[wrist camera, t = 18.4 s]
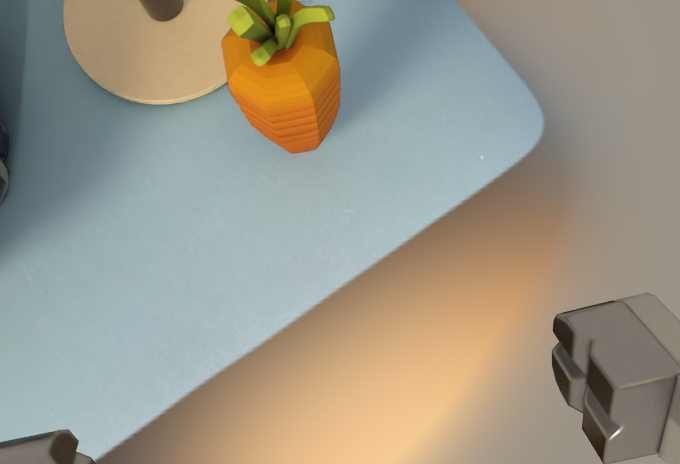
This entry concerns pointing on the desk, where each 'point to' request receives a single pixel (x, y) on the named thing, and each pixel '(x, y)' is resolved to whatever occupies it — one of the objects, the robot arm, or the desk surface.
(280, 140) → the carrot
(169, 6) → the pot lid
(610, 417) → the robot arm
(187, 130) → the desk surface
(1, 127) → the decorative bowl
